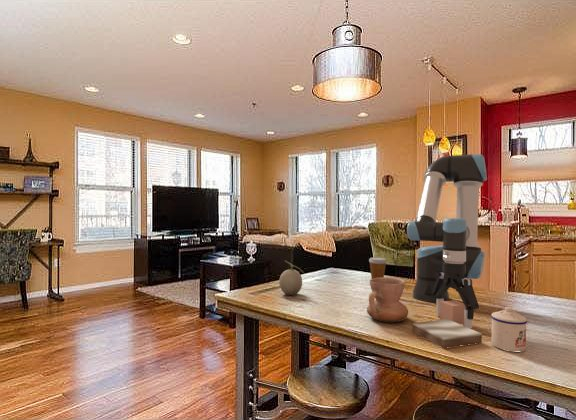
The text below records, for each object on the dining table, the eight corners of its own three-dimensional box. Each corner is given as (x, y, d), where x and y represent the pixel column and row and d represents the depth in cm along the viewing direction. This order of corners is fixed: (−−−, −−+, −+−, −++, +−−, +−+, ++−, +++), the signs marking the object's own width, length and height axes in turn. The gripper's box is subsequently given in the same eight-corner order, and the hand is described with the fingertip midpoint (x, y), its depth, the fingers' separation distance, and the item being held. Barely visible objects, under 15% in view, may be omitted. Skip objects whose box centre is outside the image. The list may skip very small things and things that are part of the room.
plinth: (412, 332, 116) (412, 323, 116) (447, 327, 120) (447, 319, 120) (443, 348, 103) (443, 338, 103) (481, 343, 107) (481, 333, 107)
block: (440, 320, 128) (440, 301, 128) (453, 319, 130) (454, 300, 130) (452, 326, 122) (452, 306, 122) (466, 324, 124) (466, 304, 124)
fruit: (301, 298, 157) (301, 264, 157) (276, 296, 160) (276, 263, 160) (306, 292, 167) (306, 261, 167) (283, 290, 170) (283, 259, 170)
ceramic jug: (387, 310, 140) (386, 274, 140) (418, 319, 128) (418, 280, 128) (354, 319, 130) (353, 280, 130) (385, 330, 118) (385, 288, 118)
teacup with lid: (522, 356, 98) (523, 314, 98) (486, 346, 104) (487, 307, 104) (531, 344, 107) (532, 305, 106) (497, 336, 113) (498, 299, 113)
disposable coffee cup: (375, 277, 202) (375, 256, 202) (389, 280, 195) (390, 258, 194) (365, 279, 196) (365, 258, 196) (379, 282, 189) (379, 260, 188)
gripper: (422, 257, 136) (421, 312, 137) (473, 268, 113) (472, 335, 113) (438, 256, 138) (437, 310, 139) (492, 267, 115) (491, 332, 115)
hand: (453, 321), depth 126 cm, fingers open, 13 cm apart
